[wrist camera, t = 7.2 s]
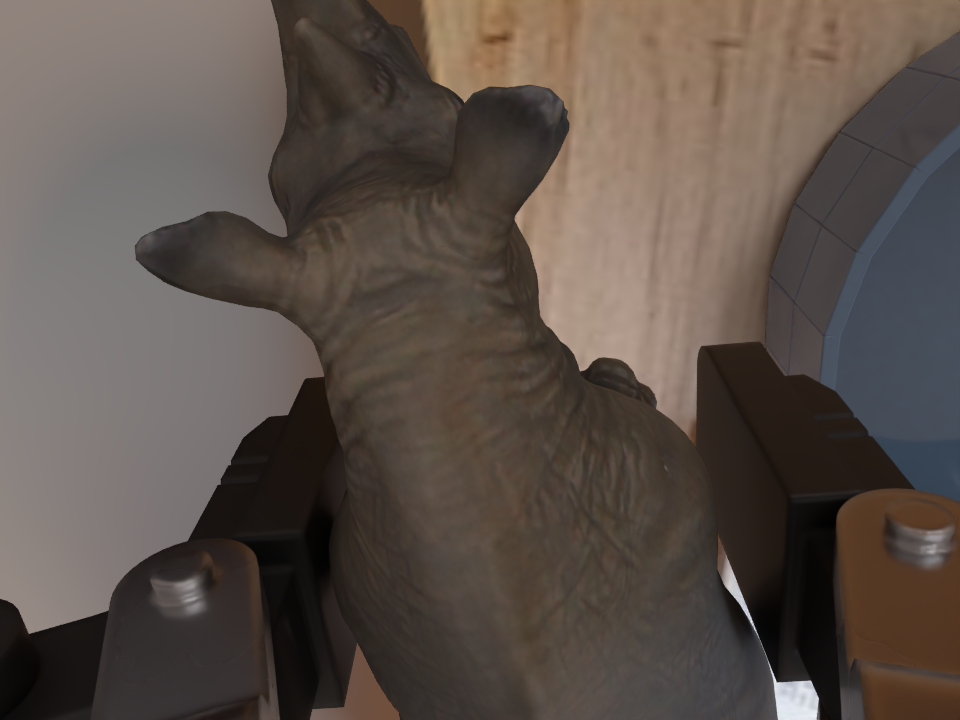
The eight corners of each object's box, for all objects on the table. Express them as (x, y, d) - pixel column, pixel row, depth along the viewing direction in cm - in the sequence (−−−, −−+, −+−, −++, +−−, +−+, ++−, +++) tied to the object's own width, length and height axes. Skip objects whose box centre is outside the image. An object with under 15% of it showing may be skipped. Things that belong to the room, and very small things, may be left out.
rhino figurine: (513, -196, 9) (541, -477, 3) (761, 714, 14) (927, 1181, 9) (163, -55, 9) (-307, -92, 4) (529, 765, 15) (549, 1229, 9)
